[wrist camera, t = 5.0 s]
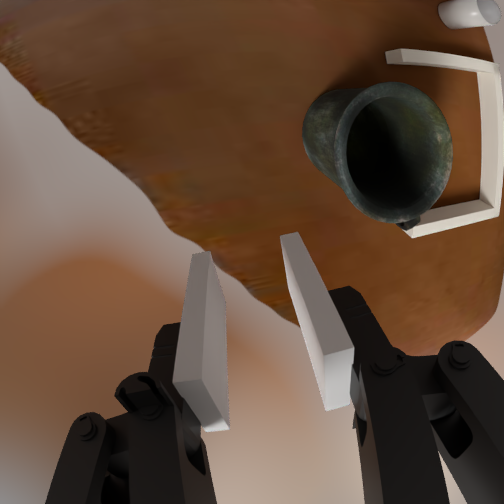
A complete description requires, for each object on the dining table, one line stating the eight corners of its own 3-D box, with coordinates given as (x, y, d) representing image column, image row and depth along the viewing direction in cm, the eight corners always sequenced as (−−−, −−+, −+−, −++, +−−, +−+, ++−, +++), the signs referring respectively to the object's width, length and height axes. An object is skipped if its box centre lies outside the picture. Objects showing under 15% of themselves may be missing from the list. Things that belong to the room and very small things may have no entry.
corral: (384, 51, 25) (400, 48, 22) (481, 63, 25) (498, 64, 22) (398, 226, 36) (412, 238, 33) (484, 207, 35) (498, 216, 32)
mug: (360, 70, 27) (424, 62, 16) (409, 179, 33) (471, 215, 22) (276, 114, 29) (306, 121, 18) (339, 222, 35) (382, 276, 24)
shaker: (433, 2, 21) (483, -9, 13) (451, 2, 21) (499, -6, 13) (445, 30, 23) (496, 24, 15) (462, 28, 23) (511, 24, 15)
